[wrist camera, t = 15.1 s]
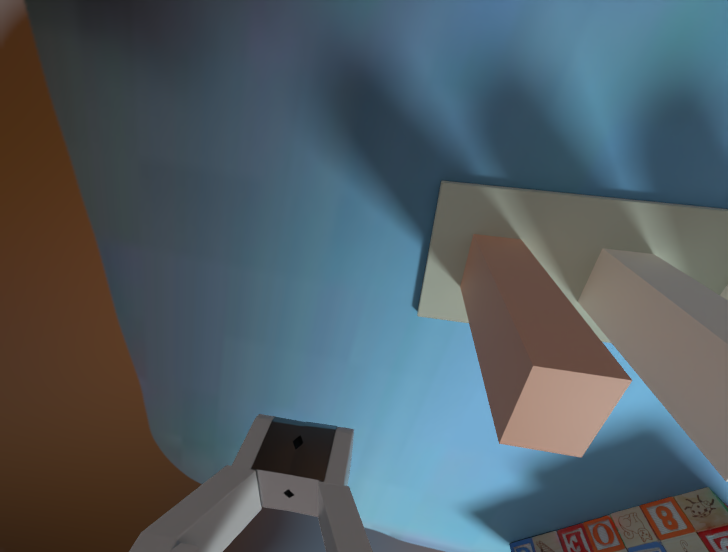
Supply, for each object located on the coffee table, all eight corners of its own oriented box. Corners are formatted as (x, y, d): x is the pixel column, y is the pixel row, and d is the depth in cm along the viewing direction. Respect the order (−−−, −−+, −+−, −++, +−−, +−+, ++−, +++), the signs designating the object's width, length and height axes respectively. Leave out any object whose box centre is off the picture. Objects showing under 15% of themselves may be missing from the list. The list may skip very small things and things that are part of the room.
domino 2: (653, 253, 20) (922, 422, 9) (623, 307, 22) (818, 497, 11) (602, 248, 20) (807, 405, 10) (577, 301, 22) (725, 481, 12)
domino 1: (521, 239, 21) (632, 380, 10) (503, 292, 22) (581, 457, 12) (473, 233, 21) (533, 365, 10) (460, 286, 23) (499, 443, 12)
